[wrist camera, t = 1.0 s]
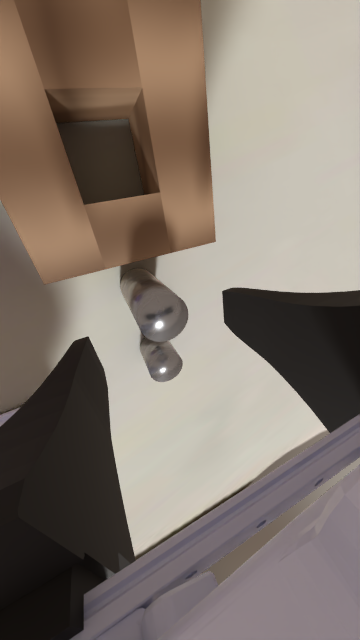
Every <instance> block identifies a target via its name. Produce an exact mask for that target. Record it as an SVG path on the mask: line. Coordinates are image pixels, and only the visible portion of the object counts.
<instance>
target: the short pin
mask: <svg viewBox="0 0 360 640" xmlns="http://www.w3.org/2000/svg"><path fill="white" fill-rule="evenodd" d="M140 351H141V354H142V356H143V358H144V361H145V363H146V366H147V368H148V370H149V373H150V375H151V377H152V378H153V379H154V380H155V381H158V382H165V381H169V380H171V379H173V378H174V377H176V376H177V375H178V374H179V372H180V371H181V369H182V359H181V358H180V356H179V355H178V353H177V352H176V350H175V349H174V347H173V346H172V344H171V343H170V342H169V340H168V341H163V342H156V341H152V340H150V339H148V338H146V337H145V338H144V339H143V340H142V342H141V344H140Z"/></svg>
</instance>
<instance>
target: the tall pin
mask: <svg viewBox="0 0 360 640" xmlns="http://www.w3.org/2000/svg"><path fill="white" fill-rule="evenodd" d="M120 288H121V292H122V294H123V296H124V298H125V300H126V302H127V304H128V306H129V308H130V310H131V312H132V314H133V316H134V318H135V320H136V322H137V324H138V326H139V328H140V330H141V332H142V333H143V335H144V336H145V337H146V338H148V339H150V340H152V341H156V342H163V341H168V340H170V339H173V338H174V337H176V336H177V335H178V334H180V333H181V331H182V330H183V329H184V327H185V325H186V323H187V320H188V309H187V306H186V304H185V303H184V301H183V300H182V299H181V298H179V297H178V296H177V295H176V294H175V293H173V292H172V291H171V290H170V289H169V288H168V287H166V286H165V285H164V284H163V283H162V282H160V281H159V280H158V279H157V278H156V277H154V276H153V275H152V274H151V273H150V272H148V271H147V270H145V269H142V268H134V269H131V270H129V271H128V272H126V273H125V274H124V276H123V277H122V279H121V283H120Z"/></svg>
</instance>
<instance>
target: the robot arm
mask: <svg viewBox="0 0 360 640" xmlns="http://www.w3.org/2000/svg"><path fill="white" fill-rule="evenodd" d="M222 294H223V310H224V323H225V324H226V325H227V326H228V328H229V329H230V330H231V331H232V332H233V333H234V334H235V335H236V336H237V337H238V338H239V339H241V340H242V341H243V342H244V343H245V344H247V345H248V346H249V347H250V348H252V349H253V350H254V351H255V352H257V353H258V354H259V355H260V356H261V357H263V358H264V359H265V360H266V361H267V362H268V363H269V364H271V365H272V366H273V367H274V369H275V370H276V371H277V372H278V373H279V374H280V375H281V376H282V377H283V378H284V379H285V380H286V381H287V382H288V383H289V384H290V385H291V386H292V387H293V389H294V390H295V391H296V392H297V393H298V394H299V395H300V397H301V398H302V399H303V400H304V401H305V402H306V404H307V405H308V406H309V407H310V408H311V409H312V411H313V412H314V413H315V414H316V416H317V417H318V418H319V420H320V421H321V422H322V423H323V425H324V426H325V427H326V428H327V430H328V431H329V432H330V434H328V435H327V436H325V437H324V438H322V439H321V440H319V441H318V442H316V443H315V444H313V445H312V446H310V447H308V448H307V449H305V450H304V451H302V452H301V453H299V454H298V455H296V456H295V457H293V458H292V459H290V460H289V461H287V462H286V463H284V464H282V465H281V466H279V467H278V468H276V469H275V470H273V471H272V472H270V473H269V474H267V475H266V476H264V477H263V478H261V479H260V480H258V481H257V482H255V483H253V484H252V485H251V486H249V487H247V488H246V489H244V490H243V491H241V492H240V493H238V494H237V495H235V496H234V497H232V498H231V499H229V500H227V501H226V502H224V503H223V504H221V505H220V506H218V507H217V508H215V509H214V510H212V511H211V512H209V513H208V514H206V515H205V516H203V517H202V518H200V519H198V520H197V521H195V522H194V523H192V524H191V525H189V526H188V527H186V528H185V529H183V530H182V531H180V532H179V533H177V534H176V535H174V536H173V537H171V538H169V539H168V540H166V541H165V542H163V543H162V544H160V545H159V546H157V547H156V548H154V549H153V550H151V551H150V552H148V553H147V554H145V555H144V556H142V557H140V558H139V559H137V560H135V556H134V552H133V547H132V542H131V538H130V533H129V529H128V524H127V519H126V515H125V510H124V505H123V500H122V495H121V490H120V485H119V479H118V474H117V469H116V464H115V458H114V452H113V446H112V440H111V431H110V416H109V400H108V387H107V382H106V377H105V372H104V368H103V366H102V364H101V362H100V360H99V358H98V356H97V354H96V352H95V350H94V347H93V345H92V343H91V341H90V339H89V337H85V338H82V339H79V340H76V341H74V342H73V343H72V345H71V346H70V347H69V349H68V350H67V352H66V353H65V354H64V356H63V357H62V359H61V360H60V361H59V363H58V364H57V366H56V367H55V368H54V370H53V371H52V372H51V373H50V375H49V376H48V377H47V378H46V380H45V381H44V382H43V383H42V385H41V386H40V387H39V388H38V389H37V390H36V392H35V393H34V394H33V395H32V396H31V397H30V398H29V399H28V400H27V401H26V402H25V403H24V404H23V405H22V407H19V408H17V409H14V410H12V411H9V412H6V413H4V414H1V415H0V640H360V465H358V466H357V467H356V468H355V469H353V470H352V471H351V472H350V473H348V474H347V475H346V476H345V477H343V478H342V479H341V480H340V481H338V482H337V483H336V484H335V485H334V486H332V487H331V488H330V489H329V490H327V492H325V493H324V494H323V495H321V496H320V497H319V498H318V499H317V500H316V501H315V502H313V503H312V504H311V505H310V506H309V507H307V508H306V509H305V510H304V511H303V512H302V513H300V514H299V515H298V516H297V517H296V518H295V519H294V520H292V521H291V522H290V523H289V524H288V525H287V526H286V527H284V528H283V529H282V530H281V531H280V532H279V533H278V534H277V535H275V536H274V537H273V538H272V539H271V540H270V541H269V542H267V543H266V544H265V545H264V546H263V547H262V548H261V549H259V550H258V551H257V552H256V553H255V554H254V555H253V556H252V557H250V558H249V559H248V560H247V561H246V562H245V563H244V564H242V565H241V566H240V567H239V568H238V569H237V570H236V571H235V572H233V573H232V574H231V575H230V576H229V577H228V578H227V579H225V580H224V581H223V582H222V583H221V584H220V585H219V586H218V584H217V581H216V578H215V576H214V573H212V572H210V571H207V572H205V573H203V572H204V571H205V570H207V569H208V568H209V567H211V566H212V565H213V564H215V563H216V562H218V561H219V560H220V559H222V558H223V557H225V556H226V555H227V554H229V553H230V552H231V551H233V550H234V549H235V548H237V547H238V546H239V545H241V544H242V543H244V542H245V541H246V540H248V539H249V538H250V537H252V536H253V535H254V534H256V533H257V532H258V531H260V530H261V529H263V528H264V527H265V526H267V525H268V524H269V523H271V522H272V521H273V520H275V519H276V518H277V517H279V516H280V515H282V514H283V513H284V512H286V511H287V510H288V509H290V508H291V507H292V506H294V505H295V504H297V503H298V502H299V501H301V500H302V499H303V498H305V497H306V496H307V495H309V494H310V493H311V492H313V491H314V490H315V489H317V488H318V487H320V486H321V485H322V484H324V483H325V482H326V481H328V480H329V479H331V478H332V477H333V476H335V475H336V474H337V473H339V472H340V471H341V470H343V469H344V468H345V467H347V466H348V465H350V464H351V463H352V462H354V461H355V460H356V459H358V458H359V457H360V290H358V291H347V292H330V293H294V292H279V291H268V290H259V289H249V288H230V289H227V290H224V291H222ZM201 573H203V574H201ZM200 574H201V575H200Z"/></svg>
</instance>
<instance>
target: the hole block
mask: <svg viewBox="0 0 360 640" xmlns="http://www.w3.org/2000/svg"><path fill="white" fill-rule="evenodd" d="M116 119H129V124H130V129H131V133H132V138H133V143H134V148H135V153H136V158H137V162H138V167H139V172H140V177H141V182H142V187H143V191H144V195H141V196H135V197H129V198H123V199H117V200H111V201H105V202H98V203H92V204H86V205H84V204H83V201H82V198H81V195H80V192H79V189H78V186H77V183H76V180H75V177H74V175H73V172H72V169H71V166H70V163H69V160H68V157H67V154H66V151H65V148H64V145H63V142H62V139H61V137H60V134H59V131H58V128H57V125H56V123H64V122H82V121H99V120H116ZM0 200H1V202H2V204H3V205H4V207H5V209H6V211H7V213H8V215H9V217H10V219H11V221H12V223H13V225H14V227H15V229H16V231H17V233H18V235H19V237H20V238H21V240H22V242H23V244H24V246H25V248H26V250H27V252H28V254H29V256H30V258H31V260H32V262H33V264H34V266H35V268H36V269H37V271H38V273H39V275H40V277H41V279H42V281H43V283H44V285H45V284H49V283H53V282H57V281H61V280H65V279H69V278H73V277H77V276H80V275H84V274H88V273H92V272H96V271H100V270H104V269H108V268H112V267H116V266H120V265H124V264H128V263H132V262H136V261H140V260H144V259H148V258H152V257H156V256H160V255H164V254H168V253H172V252H176V251H180V250H184V249H188V248H192V247H196V246H200V245H204V244H208V243H212V242H216V239H215V223H214V207H213V191H212V176H211V160H210V144H209V128H208V112H207V96H206V81H205V65H204V49H203V33H202V17H201V1H200V0H0Z"/></svg>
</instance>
